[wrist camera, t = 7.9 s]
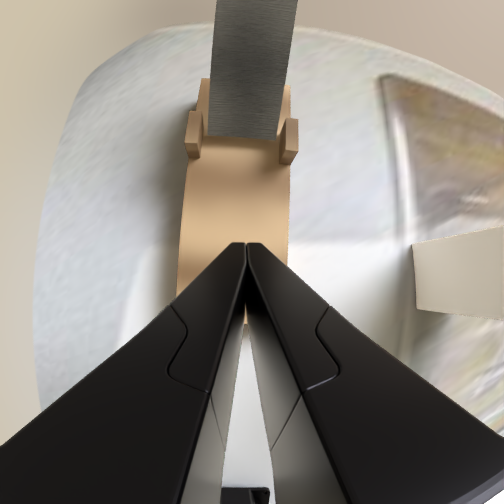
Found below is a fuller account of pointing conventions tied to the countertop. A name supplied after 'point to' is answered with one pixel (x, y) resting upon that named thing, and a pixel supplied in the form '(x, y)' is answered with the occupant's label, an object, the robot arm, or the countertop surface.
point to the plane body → (234, 190)
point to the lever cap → (249, 67)
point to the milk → (462, 274)
